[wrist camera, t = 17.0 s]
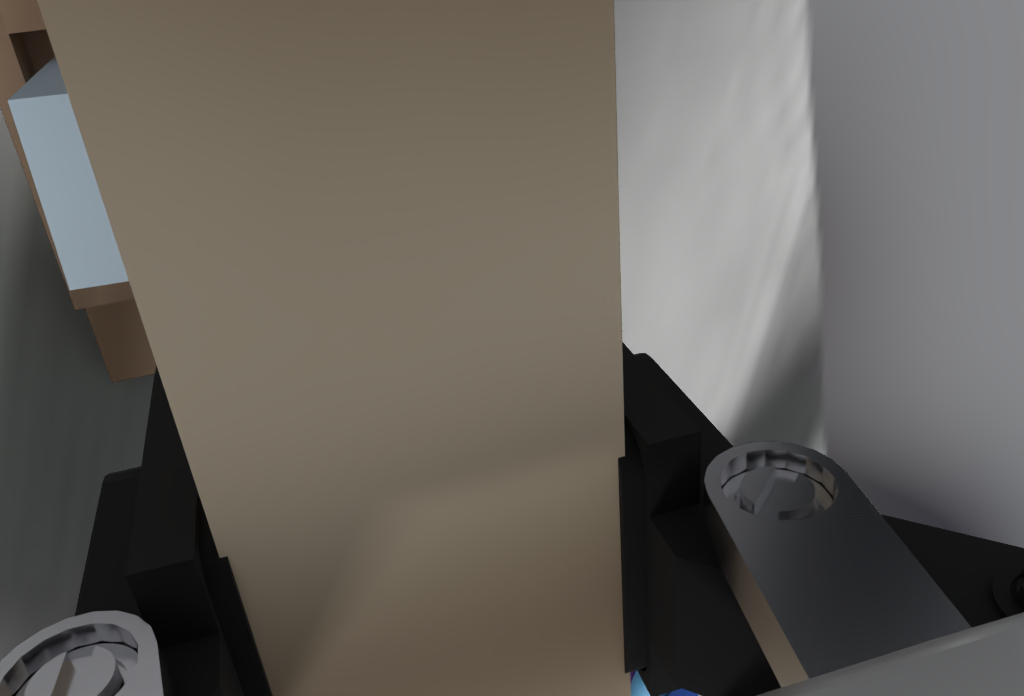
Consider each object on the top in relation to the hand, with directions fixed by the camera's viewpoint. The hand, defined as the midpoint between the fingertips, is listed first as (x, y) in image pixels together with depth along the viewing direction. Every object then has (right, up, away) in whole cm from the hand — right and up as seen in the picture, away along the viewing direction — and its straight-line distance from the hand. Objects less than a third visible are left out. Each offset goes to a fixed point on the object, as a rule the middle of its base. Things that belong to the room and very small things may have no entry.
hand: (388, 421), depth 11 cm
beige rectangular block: (0, 0, +1) cm, 1 cm away
